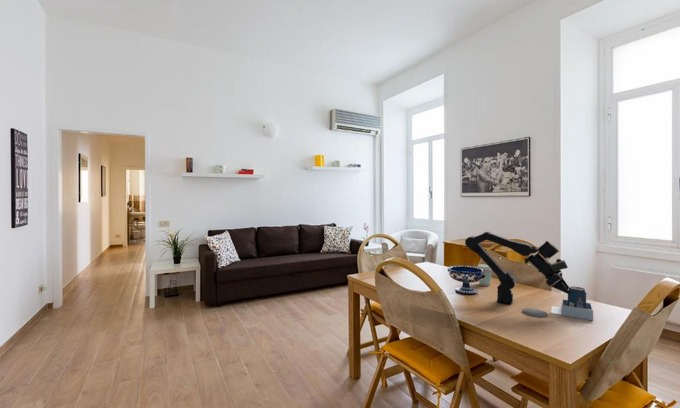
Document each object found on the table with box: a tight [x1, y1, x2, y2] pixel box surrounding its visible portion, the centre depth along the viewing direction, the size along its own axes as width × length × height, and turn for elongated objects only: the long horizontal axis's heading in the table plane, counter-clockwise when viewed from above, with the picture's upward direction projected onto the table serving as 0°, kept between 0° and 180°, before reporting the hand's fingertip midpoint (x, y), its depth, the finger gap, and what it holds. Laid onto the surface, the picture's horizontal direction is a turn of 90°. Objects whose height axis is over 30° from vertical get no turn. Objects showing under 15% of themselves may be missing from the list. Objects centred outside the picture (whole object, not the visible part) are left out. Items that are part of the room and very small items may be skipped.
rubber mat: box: [522, 307, 548, 318], centre depth 152 cm, size 10×10×1 cm
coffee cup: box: [477, 263, 493, 287], centre depth 201 cm, size 8×8×12 cm
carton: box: [551, 298, 594, 321], centre depth 154 cm, size 15×15×4 cm
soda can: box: [567, 286, 587, 309], centre depth 151 cm, size 7×7×12 cm
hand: (568, 291), depth 153 cm, fingers open, 9 cm apart
